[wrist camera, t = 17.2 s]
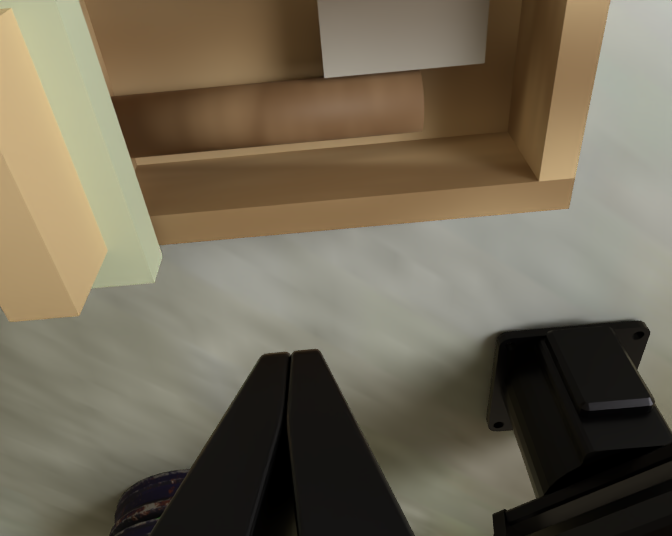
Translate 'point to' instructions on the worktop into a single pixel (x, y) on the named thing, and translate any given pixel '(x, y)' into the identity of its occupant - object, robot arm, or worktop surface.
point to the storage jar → (145, 503)
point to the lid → (63, 170)
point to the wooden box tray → (346, 108)
